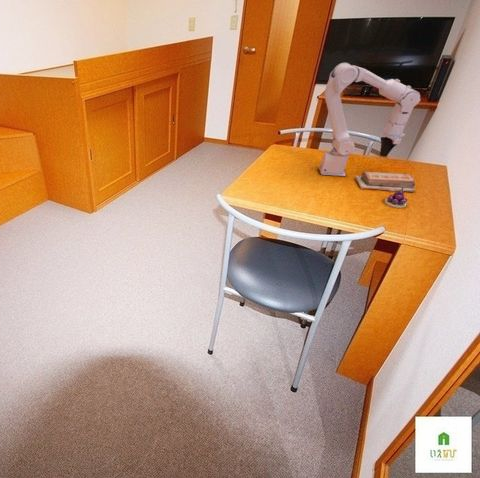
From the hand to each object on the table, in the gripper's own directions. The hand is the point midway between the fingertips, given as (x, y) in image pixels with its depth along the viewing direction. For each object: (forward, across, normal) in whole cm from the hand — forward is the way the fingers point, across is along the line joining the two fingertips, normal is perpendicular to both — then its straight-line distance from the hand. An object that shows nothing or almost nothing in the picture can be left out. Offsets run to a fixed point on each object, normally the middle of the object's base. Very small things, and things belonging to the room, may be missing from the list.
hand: (383, 155), depth 134 cm
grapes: (+8, -27, 0) cm, 28 cm away
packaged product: (+9, -11, 0) cm, 14 cm away
